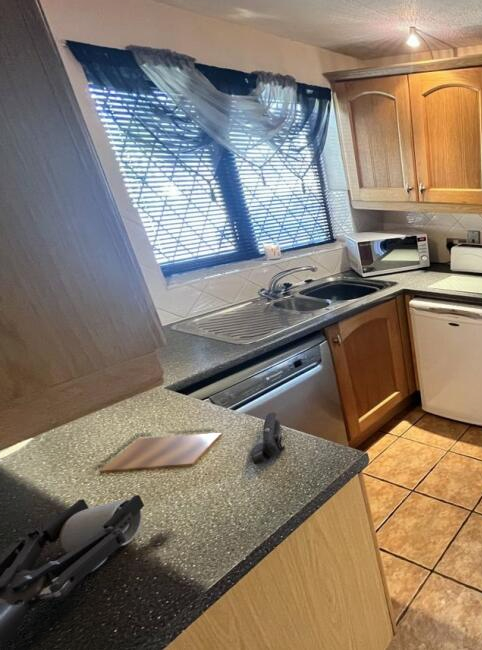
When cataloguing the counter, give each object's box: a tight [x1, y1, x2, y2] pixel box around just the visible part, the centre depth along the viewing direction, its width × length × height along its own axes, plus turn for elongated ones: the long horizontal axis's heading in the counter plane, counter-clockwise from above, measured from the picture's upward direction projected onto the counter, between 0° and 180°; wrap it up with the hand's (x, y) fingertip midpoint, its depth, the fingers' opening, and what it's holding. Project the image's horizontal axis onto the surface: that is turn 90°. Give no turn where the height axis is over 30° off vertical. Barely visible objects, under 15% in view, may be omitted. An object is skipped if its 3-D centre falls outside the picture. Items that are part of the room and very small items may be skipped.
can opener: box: [251, 412, 286, 465], centre depth 94 cm, size 18×7×6 cm, turn 26°
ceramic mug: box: [58, 498, 143, 573], centre depth 67 cm, size 11×8×8 cm
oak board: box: [98, 432, 223, 473], centre depth 92 cm, size 20×11×1 cm, turn 95°
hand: (112, 502), depth 71 cm, fingers closed on ceramic mug, 9 cm apart
